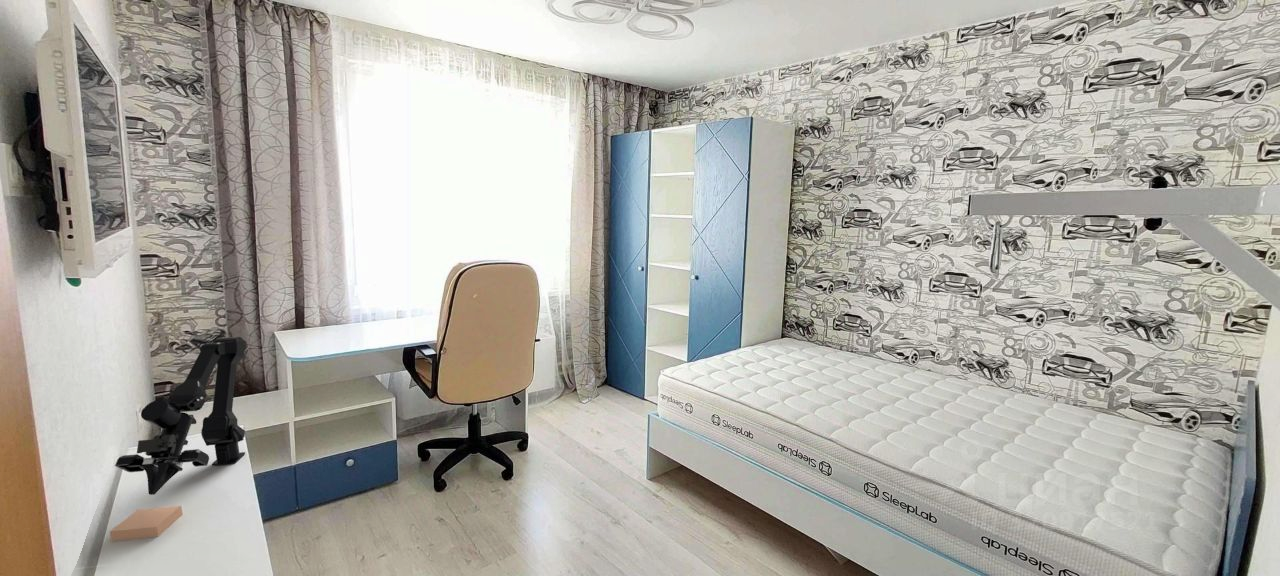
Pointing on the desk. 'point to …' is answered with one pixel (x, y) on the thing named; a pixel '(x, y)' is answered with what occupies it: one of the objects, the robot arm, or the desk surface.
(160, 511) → the tile
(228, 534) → the desk surface
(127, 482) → the desk surface
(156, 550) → the desk surface
